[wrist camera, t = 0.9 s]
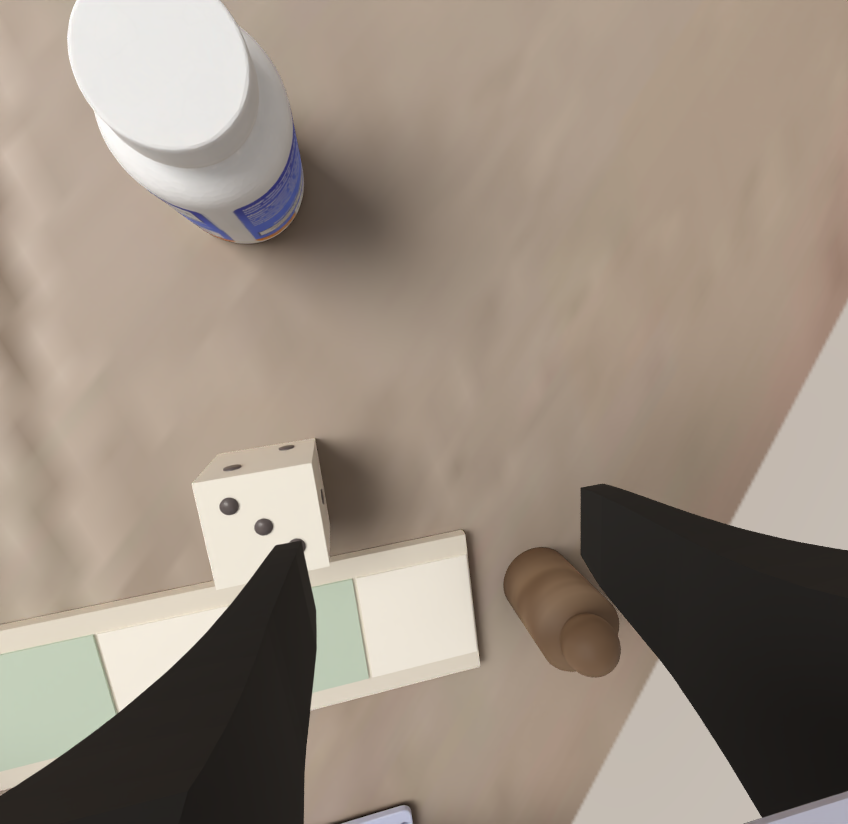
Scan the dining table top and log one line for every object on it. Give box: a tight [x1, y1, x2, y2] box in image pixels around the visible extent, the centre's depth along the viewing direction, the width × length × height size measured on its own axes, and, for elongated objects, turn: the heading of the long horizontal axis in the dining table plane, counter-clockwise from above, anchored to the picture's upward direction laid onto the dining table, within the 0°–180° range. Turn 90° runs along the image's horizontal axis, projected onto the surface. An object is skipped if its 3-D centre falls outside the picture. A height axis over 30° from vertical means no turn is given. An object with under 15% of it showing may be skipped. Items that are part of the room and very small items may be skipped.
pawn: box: [504, 547, 621, 677], centre depth 23 cm, size 4×4×7 cm
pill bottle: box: [67, 0, 304, 244], centre depth 16 cm, size 5×5×10 cm
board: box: [0, 530, 480, 791], centre depth 24 cm, size 8×24×1 cm, turn 97°
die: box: [192, 438, 330, 590], centre depth 21 cm, size 4×4×5 cm
